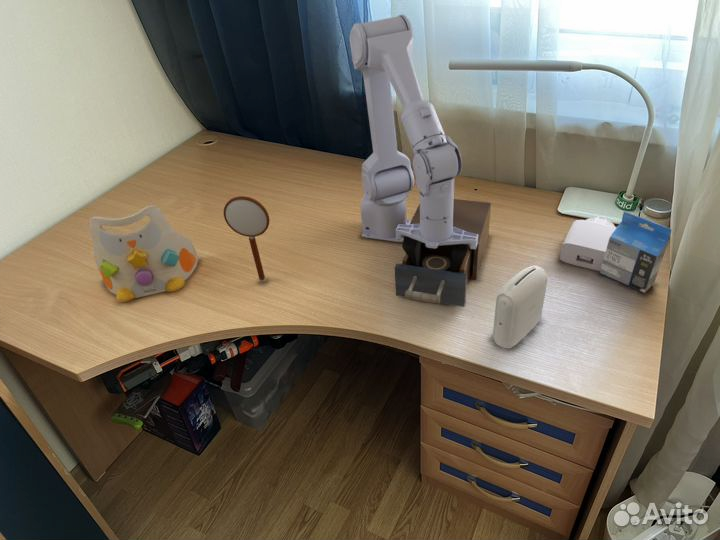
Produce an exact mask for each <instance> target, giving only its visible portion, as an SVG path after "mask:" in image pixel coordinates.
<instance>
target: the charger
mask: <svg viewBox="0 0 720 540" xmlns="http://www.w3.org/2000/svg"><path fill="white" fill-rule="evenodd" d="M616 228H617V226H615V224H614V223H613V222H612V221H610V220H609V218H608V217H605V218H601V217H600V216H599V215H596V216H593V217H588V218H586V219H576V220H573V221H572V224H571V226H570V228H569V229H568V232H567V233H566V236H565V238H564V240H563V242H562V244H561V249H560V252H559V260H560V261H562V262H563V263H565V264H570V265H574V266H577V267H582V268H584V269H585V268H586V269H589V270H593V271H597V272H600V270H601V266H602V263H603V259H604V255H605V252H606V248H607V245H608V241H609V238H610V236H611V235H612V233H613V232H614V231H615V229H616Z"/></svg>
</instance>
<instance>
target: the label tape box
mask: <svg viewBox="0 0 720 540" xmlns="http://www.w3.org/2000/svg"><path fill="white" fill-rule="evenodd" d="M639 224H641V225H647V227H649V228H647V227H644V226H641V225H639ZM650 228H652V230H651V229H650ZM671 235H672V228H671V227H667V226H664V225H662V224H659V223H657V222H654V221H652V220H649V219H646V218H643V217H641V216H638V215H636V214H633V213H630V212H627V211H625V210H624V211H623V213H622V217H621V221H620V222H619V224H618V225H617V226H616V229H615V231H614V232H613V233H612V235H611V236H610V238H609V241H608V245H607V248H606V252H605V255H604V259H603V263H602V266H601V270H600V271H599V274H601V275H603V276H606V277H608V278H610V279H612V280H615V281H617V282H620V283H621V284H624V285H626V286H628V287H630V288H632V289H634V290H637V291H639V292H641V293H646V292H647V291H649V290H650V288H651V287H653V285H654V284H655V282H656V279H657V277H658V273H659V271H660V267H661V264H662V262H663V259H664V257H665V253H666V250H667V248H668V245H669V242H670V237H671Z"/></svg>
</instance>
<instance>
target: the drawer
mask: <svg viewBox="0 0 720 540" xmlns="http://www.w3.org/2000/svg"><path fill="white" fill-rule="evenodd" d="M453 248H454V244H453V245H439V246H438V247H437V248H428V247H426V243H423V242H421V249H420V252H421V267H416V266H413V265H412V262H411V260H410V258H409V257H408V255H407V254H406V253H405V252H404V255H403V257H402V260H401V263H395V265H394V267H393V268H394V269H393V270H394V286H395V287H394V288H395V296H397V297H404V298H405V299H410V300H416V301H422V302H426V303H433V304H444V305H451V306H455V307H461V308H464V307H465V306H466V303H467V302H466V301H467V287H468V281H469V280H470V279H469V275H470V272H471V269H472V265H473V258H474V249H470V247H469V248H468V251H467V254H466V256H465V258H464V259H463V260H462V262H461V263H460V265H459V267H458V271H457V273H456V272H452V255H451V254H452V251H453ZM431 255H441V256H444V257H446V258H448V259H449V261H450V272H449V271H443V270H436V269H430V268H423V267H422V262H423V260H424V259H425V258H426V257H428V256H431Z"/></svg>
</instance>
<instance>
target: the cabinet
mask: <svg viewBox="0 0 720 540" xmlns="http://www.w3.org/2000/svg"><path fill="white" fill-rule="evenodd" d="M491 209H492V202H488V201H486V202H485V201H479V200H477V201H476V200H468V199H460V198H454V205H453V227H455V228H458V229H461V230H464V231H466V232H469V233H473V234H478V244H477V247H476V249H474V258H473V265H472V269H471V272H470V275H469V279H468V280H473V281H477V279H478V275H479V272H480V268H481V265H482V261H483V258H484V254H485V250H486V246H487V243H488V240H489V235H490V234H489V233H490V223H491V222H490V221H491ZM410 221H411V222H410V224H420V203H419V204H418V206H417V208H416V210H415V212H414V214H413V216H412V218H411V220H410ZM454 245H455V244H454ZM469 247H470V246H469ZM405 253H406V252H405V251H404V254H405Z"/></svg>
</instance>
